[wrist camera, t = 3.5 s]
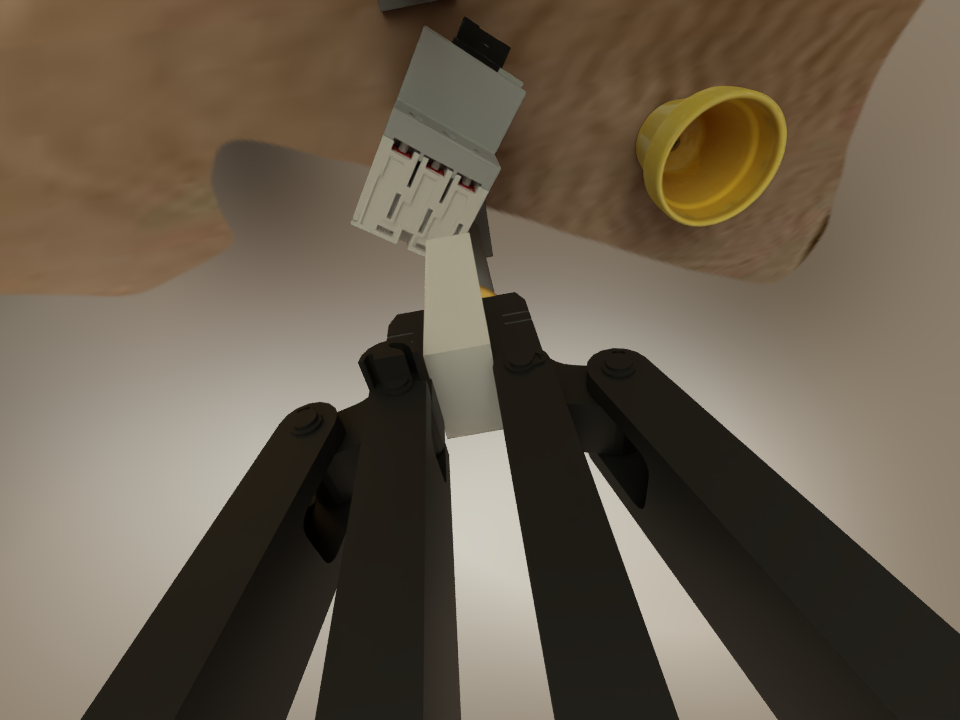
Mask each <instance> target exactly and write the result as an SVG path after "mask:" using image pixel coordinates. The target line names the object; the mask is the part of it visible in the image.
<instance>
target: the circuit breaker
mask: <svg viewBox="0 0 960 720" xmlns="http://www.w3.org/2000/svg"><path fill="white" fill-rule="evenodd" d="M479 27H480V26H478V25H477V24H475V23H474V22H472V21H471V20H469V19H468V18H466V17H464V18H463V21H462V24H461V26H460V29H459V31H458V34H457V36H456V38H455V37H454V39H453V41H452V42H450V41H449V40H447V39H446V38H444V37H443V36H441V35H440V34H438V33H437V32H435V31H433V30H432V29H430V28H429V27H427V26H426V25H424V27H423V30H422V33H421V36H420V38H419V41H418V44H417V46H416V49H415V52H414V55H413V57H412V60H411V63H410V65H409V68H408V71H407V74H406V76H405V79H404V82H403V84H402V87H401V90H400V92H399V95H398V98H397V100H396V103H395V105H394V107H393V110H392V112H391V115H390V118H389V121H388V123H387V126H386V129H385V131H384V134H383V137H382V140H381V142H380V145H379V148H378V150H377V153H376V156H375V159H374V161H373V164H372V167H371V169H370V172H369V175H368V178H367V180H366V183H365V186H364V189H363V191H362V194H361V197H360V199H359V202H358V205H357V207H356V211H355V213H354V216H353V219H355V220H357V221H355V220H352V221H351V224H352V225H354V226H356V227H358V228H361V229H363V230H365V231H367V232H369V233H372V234H374V235H376V236H378V237H381V238H383V239H385V240H387V241H390V242H392V243H394V244H397V241H398V239H401V240H403V241H405V242H407V249H408V250H410V251H412V252H414V253H416V254H419V255H421V256H423V257H425V256H426V251H424V250H422V249H425V250H426V240H432V239H437V238H442V237H448V236H453V235H459V234H464V233H467V232H468V230H469V229H470V227H471V225H472V223H473V221H474V219H475V217H476V215H477V213H478V211H479V210H480V208H481V206H482V204H483V202H484V200H485V198H486V196H487V194H488V192H489V191H490V189H491V187H492V185H493V183H494V181H495V179H496V177H497V175H498V174H499V172H500V170H501V167H500V165H499V163H498V161H497V159H496V156H495V153H496V151H497V149H498V147H499V145H500V143H501V141H502V139H503V137H504V135H505V133H506V132H507V130H508V128H509V126H510V124H511V122H512V120H513V118H514V116H515V114H516V112H517V110H518V108H519V106H520V104H521V102H522V100H523V98H524V96H525V94H526V91H525V90H523V89H522V86H523V84H524V83H523V82H521V81H520V80H518V79H517V78H515V77H514V76H512V75H511V74H509V73H508V72H506V71H505V70H503V68H502V66H503V64H504V62H505V60H506V58H507V55H508V53H509V51H510V49H511V48H510V47H509V46H507V45H506V44H504V43H503V42H501V41H499V40H497V39H496V38H494V37H493V36H491V35H489V34H488V33H486V32H485V31H483V30H482V29H480V28H479ZM378 229H381V230H383V231H385V232H387V233H389V234H390V235H389V234H387V233H384V232H382V231H380V230H378ZM416 246H418V247H420V248H422V249H420V248H418V247H416Z"/></svg>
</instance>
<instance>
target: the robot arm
mask: <svg viewBox="0 0 960 720" xmlns="http://www.w3.org/2000/svg"><path fill="white" fill-rule="evenodd" d="M425 259H426V260H425V297H424V310H420V311H415V312H410V313H404V314H398V315H397V316H396V317H395V318H394V320H393V321H392V322H391V324H389V327H388V334H387V337H388V338H387V341H385V342H381V343H379V344H377V345H375V346H373V347H371V348H369V349H368V350H367V351H366V352H365V353H364V354H363V355H362V356H361V358H360V360H359V362H358V364H359V366H360V369H361V371H362V373H363V376H364V378H365V381H366V383H367V385H368V388H369V390H370V391H369V397H368V398H366V399H365V400H364V401H362V402H360V403H358V404H356V405H354V406H351V407H349V408H346V409H344V410H341V411H339V412H337V411H336V409H335V407H333V406H332V405H330V404H329V403H323V402H317V403H310V404H307V405H304V406H302V407H300V408H298V409H296V410H294V411H293V412H291V413H290V414H288V415H287V416H286V417H285V418H284V420H283V421H282V422H281V423H280V424H279V426H278V427H277V429H276V430H275V431H274V433H273V434H272V436H271V438H270V439H269V441H268V442H267V443H266V445H265V446H264V448H263V449H262V451H261V452H260V454H259V455H258V457H257V459H256V460H255V461H254V463H253V464H252V466H251V467H250V469H249V470H248V472H247V473H246V475H245V476H244V478H243V479H242V481H241V482H240V484H239V485H238V486H237V488H236V490H235V491H234V493H233V494H232V495H231V497H230V498H229V500H228V501H227V503H226V504H225V506H224V507H223V509H222V510H221V512H220V513H219V515H218V516H217V518H216V519H215V521H214V522H213V524H212V525H211V527H210V528H209V530H208V531H207V533H206V534H205V536H204V537H203V539H202V540H201V541H200V543H199V545H198V546H197V547H196V549H195V550H194V552H193V554H192V555H191V556H190V558H189V559H188V561H187V562H186V564H185V565H184V567H183V568H182V570H181V571H180V573H179V574H178V576H177V577H176V579H175V580H174V582H173V583H172V585H171V586H170V588H169V589H168V591H167V592H166V594H165V595H164V597H163V598H162V600H161V601H160V602H159V604H158V605H157V607H156V608H155V610H154V612H153V613H152V614H151V616H150V617H149V619H148V620H147V622H146V623H145V625H144V626H143V628H142V629H141V631H140V632H139V634H138V635H137V637H136V638H135V640H134V641H133V643H132V644H131V646H130V647H129V649H128V650H127V651H126V653H125V655H124V656H123V657H122V659H121V661H120V662H119V663H118V665H117V666H116V668H115V669H114V671H113V672H112V674H111V675H110V677H109V678H108V680H107V681H106V683H105V684H104V686H103V687H102V689H101V690H100V692H99V693H98V695H97V696H96V698H95V699H94V701H93V702H92V704H91V705H90V706H89V708H88V709H87V711H86V712H85V714H84V715H83V717H82V718H81V720H286V718H287V715H288V713H289V710H290V708H291V705H292V703H293V700H294V697H295V695H296V692H297V690H298V687H299V684H300V682H301V679H302V676H303V674H304V671H305V669H306V666H307V664H308V661H309V658H310V656H311V653H312V651H313V648H314V645H315V643H316V640H317V638H318V635H319V632H320V630H321V627H322V625H323V622H324V620H325V617H326V614H327V612H328V609H329V607H330V604H331V601H332V599H333V596H334V594H335V591H336V597H335V603H334V608H333V614H332V621H331V626H330V632H329V638H328V644H327V651H326V657H325V662H324V669H323V674H322V681H321V686H320V693H319V699H318V705H317V711H316V717H315V720H461V711H460V710H461V709H460V686H459V667H458V666H459V664H458V642H457V621H456V599H455V577H454V555H453V533H452V514H451V513H452V512H451V489H450V467H449V454H448V450H447V447H446V444H445V432H446V435H447V438H448V439H450V438H455V437H461V436H467V435H473V434H479V433H484V432H489V431H495V430H501V429H503V430H504V435H505V441H506V447H507V453H508V458H509V464H510V469H511V475H512V481H513V487H514V492H515V498H516V504H517V509H518V515H519V520H520V526H521V532H522V537H523V543H524V549H525V555H526V560H527V566H528V572H529V577H530V583H531V588H532V594H533V599H534V606H535V611H536V617H537V623H538V628H539V634H540V640H541V645H542V650H543V657H544V662H545V668H546V674H547V679H548V685H549V691H550V696H551V702H552V707H553V713H554V719H555V720H679V718H678V715H677V712H676V709H675V707H674V704H673V701H672V698H671V695H670V692H669V690H668V687H667V684H666V681H665V678H664V676H663V673H662V670H661V667H660V665H659V662H658V659H657V656H656V653H655V651H654V648H653V645H652V642H651V639H650V637H649V634H648V631H647V628H646V625H645V622H644V620H643V617H642V614H641V611H640V608H639V606H638V603H637V600H636V597H635V594H634V592H633V589H632V586H631V583H630V580H629V578H628V575H627V572H626V569H625V566H624V564H623V561H622V558H621V555H620V552H619V550H618V547H617V544H616V541H615V538H614V536H613V533H612V530H611V527H610V525H609V522H608V519H607V516H606V513H605V510H604V508H603V505H602V502H601V499H600V496H599V494H598V491H597V488H596V485H595V483H594V479H593V477H592V474H591V471H590V469H589V465H588V463H587V460H586V457H585V454H584V452H588V453H589V455H590V458H591V459H592V461H593V462H594V464H595V465H596V466H597V468H598V469H599V471H600V472H601V473H602V475H603V476H604V477H605V479H606V480H607V482H608V483H609V485H610V486H611V487H612V488H613V490H614V492H615V493H616V494H617V496H618V497H619V498H620V500H621V501H622V503H623V504H624V505H625V507H626V508H627V510H628V511H629V512H630V514H631V515H632V517H633V518H634V519H635V521H636V522H637V524H638V525H639V526H640V528H641V529H642V531H643V532H644V533H645V535H646V536H647V538H648V539H649V540H650V542H651V543H652V544H653V546H654V547H655V549H656V550H657V551H658V553H659V554H660V556H661V557H662V558H663V560H664V561H665V563H666V564H667V565H668V567H669V568H670V570H671V571H672V573H673V574H674V575H675V577H676V578H677V580H678V581H679V582H680V584H681V585H682V586H683V588H684V589H685V591H686V592H687V593H688V595H689V596H690V598H691V599H692V600H693V602H694V603H695V605H696V606H697V607H698V609H699V610H700V612H701V613H702V614H703V616H704V617H705V618H706V620H707V621H708V623H709V624H710V626H711V627H712V628H713V630H714V631H715V633H716V634H717V635H718V637H719V638H720V639H721V641H722V642H723V644H724V645H725V646H726V648H727V649H728V651H729V652H730V654H731V655H732V656H733V658H734V659H735V661H736V662H737V663H738V664H739V666H740V667H741V669H742V670H743V672H744V673H745V674H746V676H747V677H748V679H749V680H750V681H751V683H752V684H753V685H754V687H755V688H756V690H757V691H758V693H759V694H760V695H761V697H762V698H763V700H764V701H765V702H766V704H767V705H768V706H769V708H770V709H771V711H772V712H773V713H774V715H775V716H776V718H777V719H778V720H960V634H959V633H958V632H957V631H956V630H954V629H953V628H952V627H951V626H950V625H949V624H948V623H946V622H945V621H944V620H943V619H942V618H941V617H940V616H939V615H938V614H936V613H935V612H934V611H933V610H932V609H931V608H930V607H928V606H927V605H926V604H925V603H924V602H923V601H922V600H920V599H919V598H918V597H917V596H916V595H915V594H914V593H913V592H911V591H910V590H909V589H908V588H907V587H906V586H905V585H903V584H902V583H901V582H900V581H899V580H898V579H897V578H896V577H894V576H893V575H892V574H891V573H890V572H889V571H888V570H886V569H885V568H884V567H883V566H882V565H881V564H880V563H878V562H877V561H876V560H875V559H874V558H873V557H872V556H871V555H869V554H868V553H867V552H866V551H865V550H864V549H863V548H861V547H860V546H859V545H858V544H857V543H856V542H855V541H853V540H852V539H851V538H850V537H849V536H848V535H847V534H845V533H844V532H843V531H842V530H841V529H840V528H839V527H838V526H836V525H835V524H834V523H833V522H832V521H831V520H829V518H827V517H826V516H825V515H824V514H823V513H822V512H820V511H819V510H818V509H817V508H816V507H815V506H814V505H813V504H811V503H810V502H809V501H808V500H807V499H806V498H805V497H803V496H802V495H801V494H800V493H799V492H798V491H797V490H796V489H794V488H793V487H792V486H791V485H790V484H789V483H788V482H786V481H785V480H784V479H783V478H782V477H781V476H780V475H779V474H777V473H776V472H775V471H774V470H773V469H772V468H771V467H769V466H768V465H767V464H766V463H765V462H764V461H763V460H761V459H760V458H759V457H758V456H757V455H756V454H755V453H754V452H752V451H751V450H750V449H749V448H748V447H747V446H746V445H744V444H743V443H742V442H741V441H740V440H738V438H736V437H735V436H734V435H733V434H732V433H731V432H730V431H729V430H727V429H726V428H725V427H724V426H723V425H722V424H721V423H719V422H718V421H717V420H716V419H715V418H714V417H713V416H712V415H710V414H709V413H708V412H707V411H706V410H704V408H702V407H701V406H700V405H699V404H698V403H697V402H696V401H694V400H693V399H692V398H691V397H690V396H689V395H688V394H687V393H685V392H684V391H683V390H682V389H681V388H680V387H679V386H678V385H676V384H675V383H674V382H673V381H672V380H671V379H669V378H668V377H667V376H666V375H665V374H664V373H662V371H660V370H659V369H658V368H657V367H656V366H655V365H653V364H652V363H651V362H650V361H649V360H648V359H647V358H646V357H644V356H642V355H641V354H639V353H637V352H635V351H631V350H628V349H617V348H612V349H608V350H603V351H600V352H598V353H596V354H594V355H593V356H592V357H591V358H590V359H589V361H588V363H587V366H581V365H580V366H579V365H568V364H562V363H559V362H556V361H554V360H552V359H550V357H549V356H548V355H547V353H546V352H545V351H543V350H542V348H541V345H540V342H539V339H538V336H537V333H536V330H535V327H534V324H533V322H532V320H531V316H530V313H529V311H528V307H527V304H526V301H525V299H523V298H522V297H521V296H519V295H518V294H517V293H515V292H513V293H507V294H502V295H496V296H491V297H485V298H482V297H481V292H480V286H479V281H478V276H477V270H476V265H475V260H474V254H473V249H472V244H471V239H470V233H464V234H459V235H453V236H448V237H442V238H437V239H432V240H426V256H425ZM444 428H445V429H444ZM336 589H337V590H336Z"/></svg>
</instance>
